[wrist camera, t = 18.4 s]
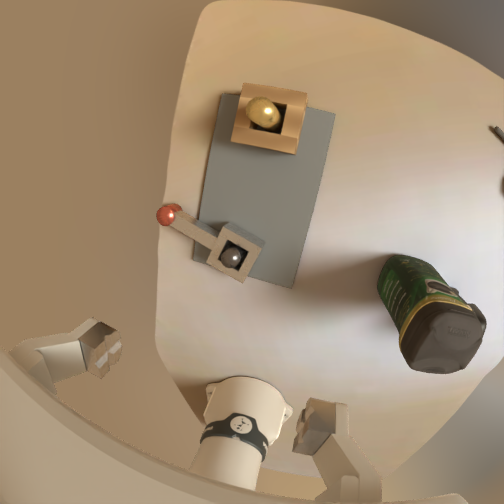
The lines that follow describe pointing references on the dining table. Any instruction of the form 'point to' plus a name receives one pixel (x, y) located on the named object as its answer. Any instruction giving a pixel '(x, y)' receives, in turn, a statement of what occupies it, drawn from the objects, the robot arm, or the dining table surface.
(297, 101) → the slot block
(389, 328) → the dining table surface
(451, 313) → the coffee jar
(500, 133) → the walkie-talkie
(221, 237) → the knob socket block
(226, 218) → the mat
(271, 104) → the pin
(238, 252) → the post
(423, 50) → the dining table surface
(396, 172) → the dining table surface
